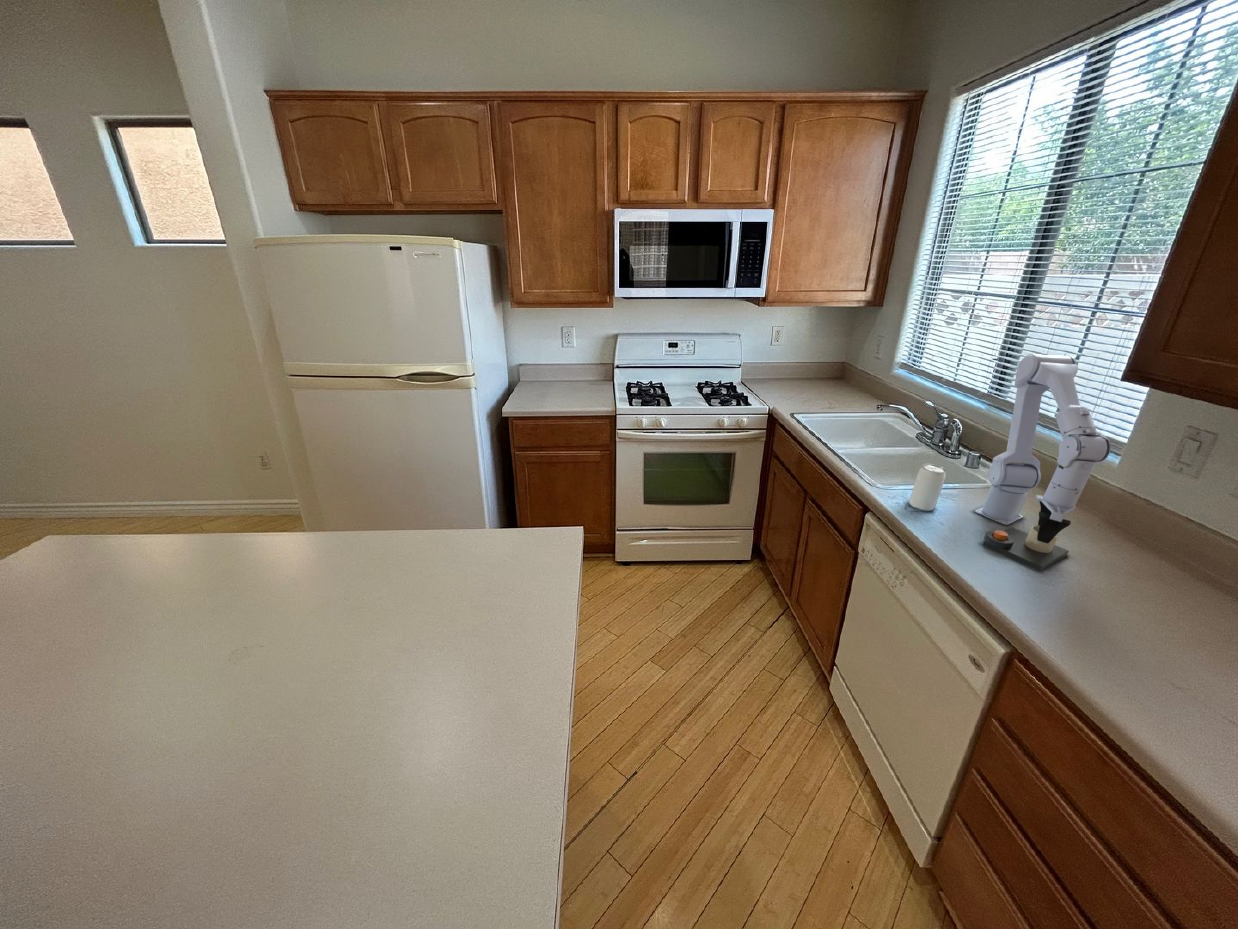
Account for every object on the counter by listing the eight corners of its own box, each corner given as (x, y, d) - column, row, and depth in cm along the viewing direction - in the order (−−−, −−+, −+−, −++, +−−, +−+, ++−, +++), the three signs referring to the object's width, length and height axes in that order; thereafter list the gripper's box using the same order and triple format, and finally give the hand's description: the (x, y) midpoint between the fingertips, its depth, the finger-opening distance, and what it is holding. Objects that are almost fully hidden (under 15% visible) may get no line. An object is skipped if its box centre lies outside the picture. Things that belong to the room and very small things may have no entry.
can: (927, 501, 138) (940, 464, 133) (938, 512, 133) (952, 473, 128) (904, 499, 139) (916, 462, 134) (914, 510, 133) (927, 472, 128)
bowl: (1024, 538, 119) (1031, 523, 117) (1051, 546, 116) (1058, 530, 114) (1023, 547, 115) (1030, 531, 113) (1051, 555, 112) (1059, 539, 110)
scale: (1007, 530, 125) (1011, 520, 124) (1066, 555, 115) (1071, 545, 114) (977, 544, 118) (981, 534, 117) (1037, 572, 108) (1043, 561, 107)
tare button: (996, 534, 118) (998, 529, 117) (1007, 539, 116) (1010, 534, 115) (990, 536, 117) (993, 531, 116) (1002, 542, 115) (1005, 536, 114)
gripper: (1044, 469, 116) (1023, 517, 122) (1043, 489, 106) (1020, 541, 111) (1082, 478, 112) (1058, 527, 118) (1086, 500, 102) (1059, 552, 107)
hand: (1042, 534), depth 114 cm, fingers open, 7 cm apart
